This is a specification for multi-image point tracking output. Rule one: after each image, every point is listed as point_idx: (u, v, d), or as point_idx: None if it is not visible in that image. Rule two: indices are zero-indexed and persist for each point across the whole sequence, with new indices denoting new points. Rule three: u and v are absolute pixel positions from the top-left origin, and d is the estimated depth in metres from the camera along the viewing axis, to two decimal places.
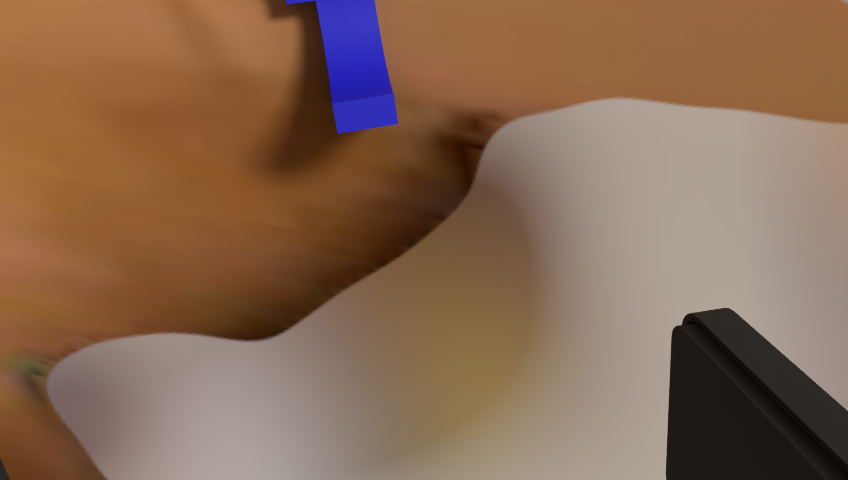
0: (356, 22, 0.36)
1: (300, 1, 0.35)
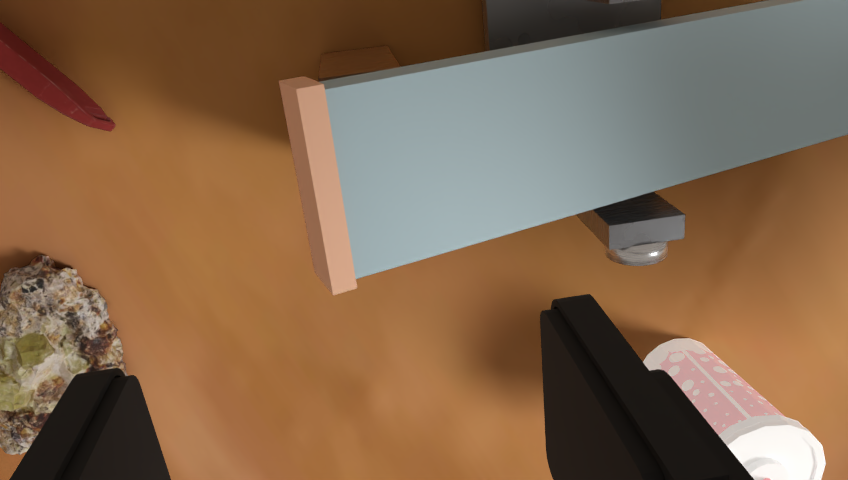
0: None
1: None
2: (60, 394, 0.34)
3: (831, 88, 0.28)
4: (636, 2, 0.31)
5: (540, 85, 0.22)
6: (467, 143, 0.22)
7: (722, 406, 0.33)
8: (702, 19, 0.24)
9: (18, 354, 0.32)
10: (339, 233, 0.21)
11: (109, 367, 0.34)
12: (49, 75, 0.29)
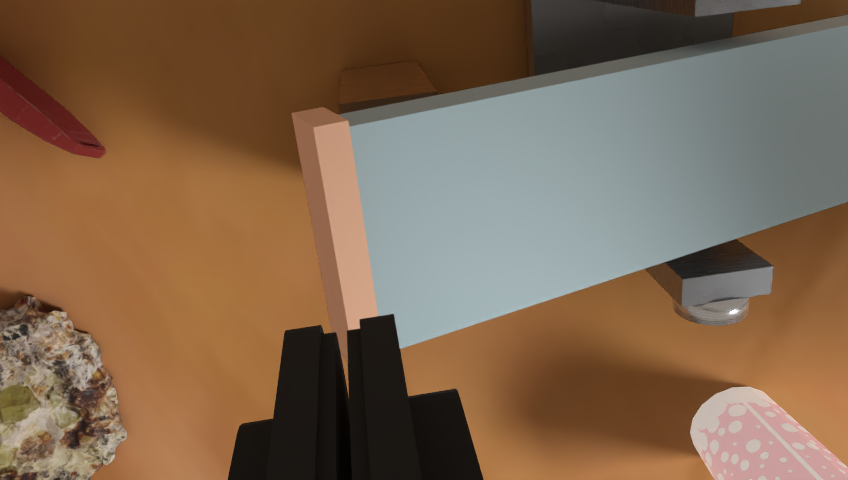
0: None
1: None
2: (47, 451, 0.30)
3: None
4: None
5: (610, 116, 0.18)
6: (522, 188, 0.18)
7: (798, 475, 0.29)
8: (802, 34, 0.20)
9: None
10: (365, 302, 0.17)
11: (102, 420, 0.30)
12: (27, 95, 0.25)
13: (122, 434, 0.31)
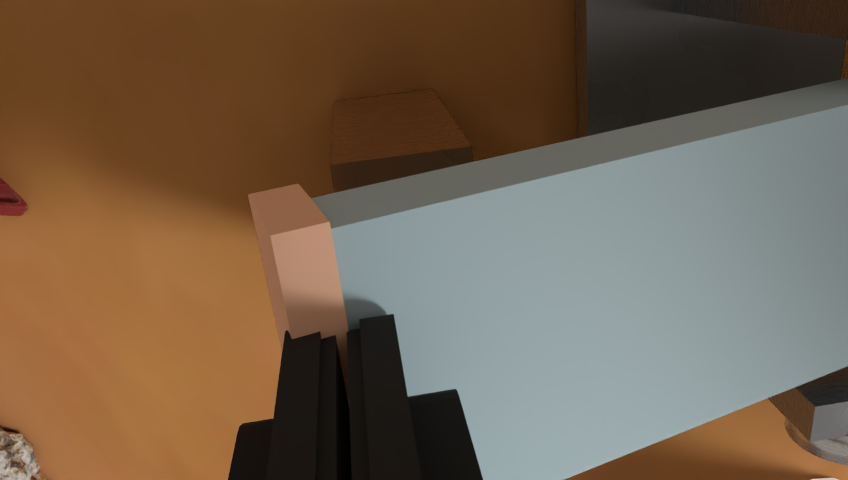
0: None
1: None
2: None
3: None
4: None
5: (734, 194, 0.12)
6: (600, 302, 0.12)
7: None
8: None
9: None
10: None
11: None
12: None
13: None
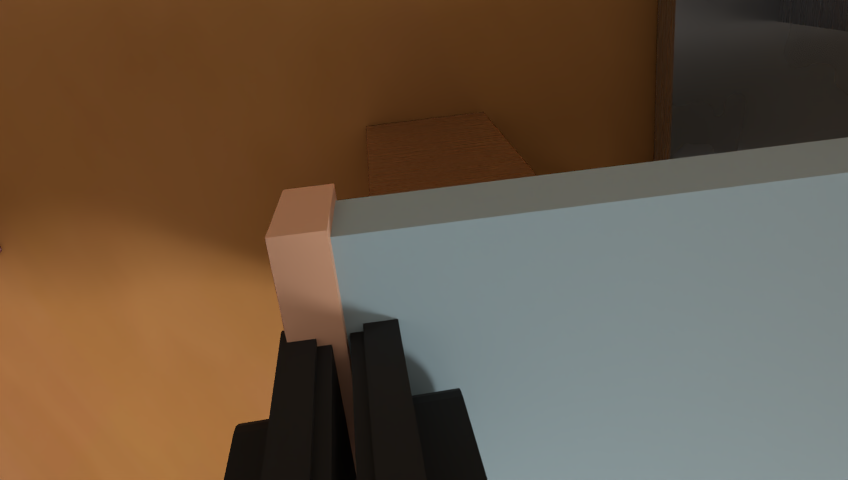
0: None
1: None
2: None
3: None
4: None
5: None
6: (651, 352, 0.10)
7: None
8: None
9: None
10: None
11: None
12: None
13: None
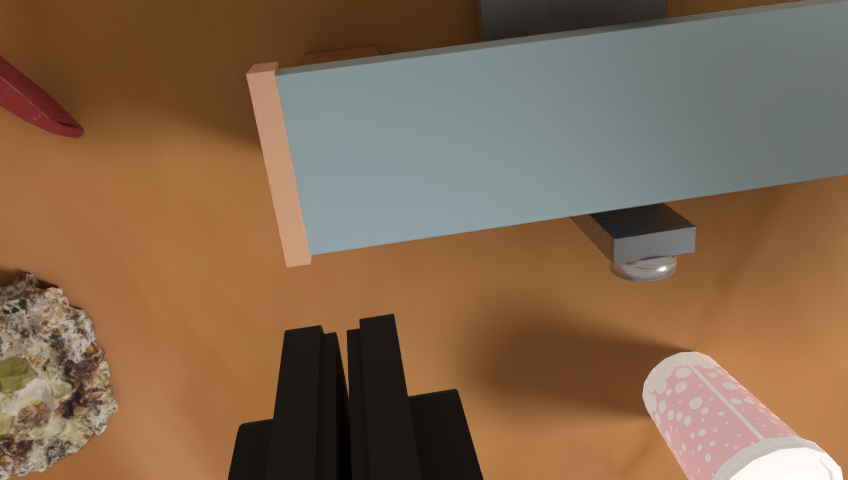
0: None
1: None
2: (42, 420, 0.32)
3: None
4: None
5: (511, 82, 0.21)
6: (428, 135, 0.22)
7: (733, 426, 0.31)
8: (723, 17, 0.22)
9: None
10: (291, 210, 0.22)
11: (95, 392, 0.32)
12: (9, 79, 0.27)
13: (113, 406, 0.33)
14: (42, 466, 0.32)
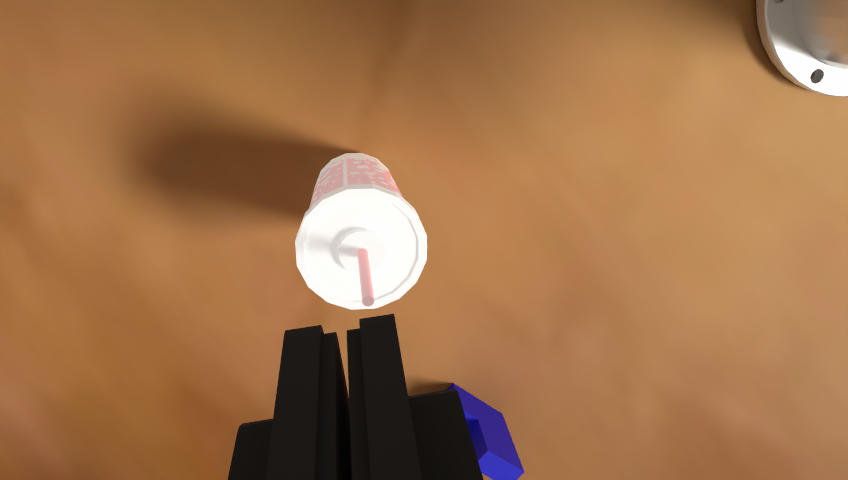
0: None
1: None
2: None
3: None
4: None
5: None
6: None
7: (334, 186, 0.32)
8: None
9: None
10: None
11: None
12: None
13: None
14: None
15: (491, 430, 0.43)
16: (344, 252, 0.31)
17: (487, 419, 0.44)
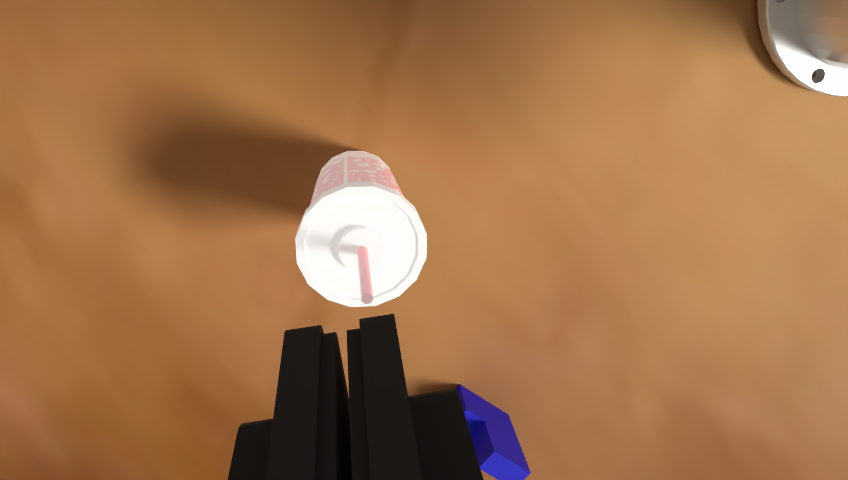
0: None
1: None
2: None
3: None
4: None
5: None
6: None
7: (334, 184, 0.33)
8: None
9: None
10: None
11: None
12: None
13: None
14: None
15: (497, 431, 0.44)
16: (344, 249, 0.31)
17: (493, 420, 0.45)
